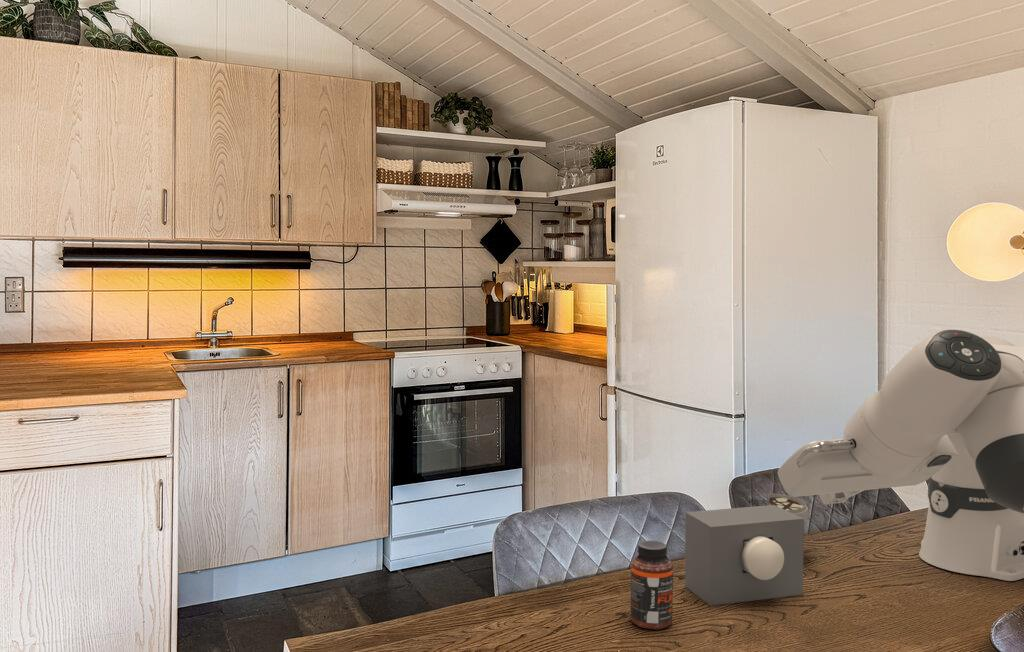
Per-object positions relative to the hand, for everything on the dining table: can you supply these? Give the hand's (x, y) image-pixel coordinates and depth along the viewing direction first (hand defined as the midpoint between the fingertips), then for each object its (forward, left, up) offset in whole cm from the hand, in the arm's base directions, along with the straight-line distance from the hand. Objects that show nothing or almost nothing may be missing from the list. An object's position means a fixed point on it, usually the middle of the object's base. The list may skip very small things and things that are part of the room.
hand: (830, 498), depth 102 cm
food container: (-16, -32, -20) cm, 41 cm away
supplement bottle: (+19, -14, -20) cm, 31 cm away
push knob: (0, -19, -16) cm, 25 cm away
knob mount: (0, -21, -20) cm, 29 cm away
